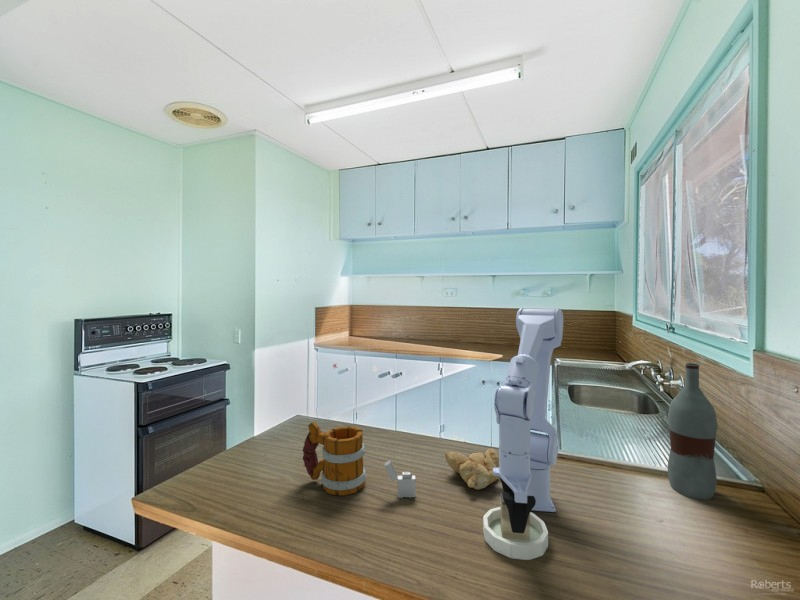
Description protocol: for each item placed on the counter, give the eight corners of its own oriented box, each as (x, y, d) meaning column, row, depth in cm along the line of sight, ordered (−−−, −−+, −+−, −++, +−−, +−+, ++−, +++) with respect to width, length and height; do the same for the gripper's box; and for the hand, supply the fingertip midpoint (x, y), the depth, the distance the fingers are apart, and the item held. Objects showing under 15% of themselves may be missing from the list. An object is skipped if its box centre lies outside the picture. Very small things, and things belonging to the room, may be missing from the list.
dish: (481, 515, 76) (481, 504, 76) (539, 520, 74) (539, 509, 74) (486, 555, 64) (486, 542, 64) (554, 562, 63) (554, 548, 63)
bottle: (715, 506, 79) (716, 370, 78) (664, 490, 85) (665, 364, 84) (717, 489, 85) (719, 363, 85) (670, 475, 92) (671, 358, 91)
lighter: (415, 493, 85) (415, 459, 85) (415, 497, 83) (415, 463, 83) (385, 493, 85) (384, 460, 84) (384, 497, 83) (384, 463, 83)
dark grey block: (500, 527, 71) (500, 492, 71) (526, 530, 70) (526, 495, 70) (502, 538, 68) (502, 501, 68) (529, 540, 67) (529, 503, 67)
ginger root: (448, 492, 83) (449, 454, 84) (442, 474, 98) (443, 443, 100) (517, 495, 82) (516, 458, 84) (500, 477, 98) (499, 446, 99)
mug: (359, 499, 82) (358, 434, 82) (293, 491, 86) (292, 429, 85) (372, 475, 93) (371, 418, 93) (313, 470, 96) (312, 414, 96)
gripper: (489, 432, 77) (489, 495, 77) (497, 465, 62) (497, 542, 63) (523, 434, 76) (523, 498, 76) (539, 468, 61) (539, 546, 62)
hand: (514, 518), depth 69 cm, fingers open, 7 cm apart
